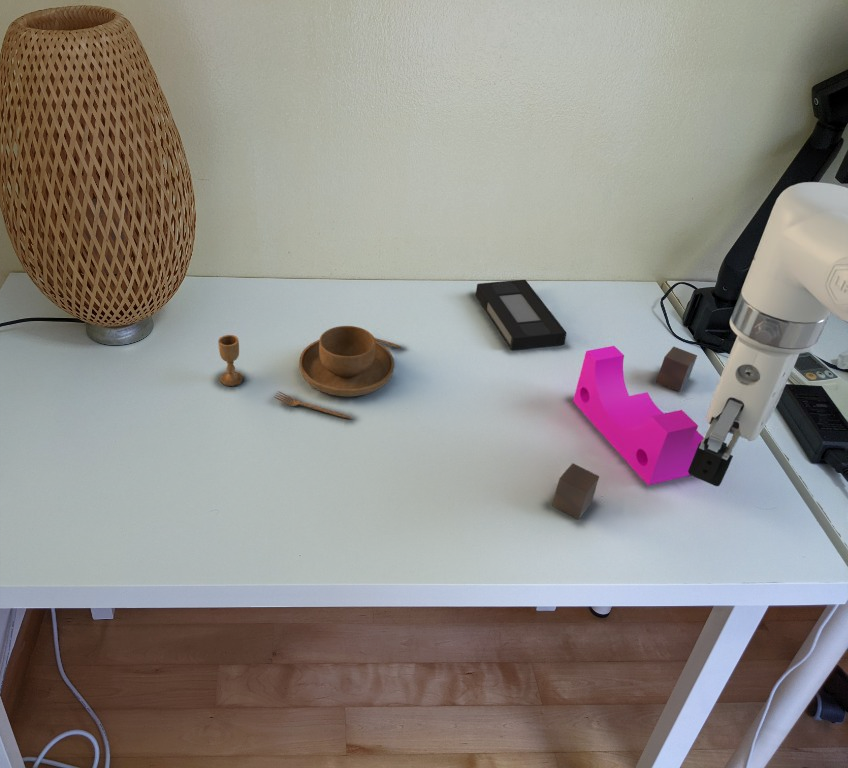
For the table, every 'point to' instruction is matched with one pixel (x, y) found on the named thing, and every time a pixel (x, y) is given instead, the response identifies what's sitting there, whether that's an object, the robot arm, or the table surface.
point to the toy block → (635, 420)
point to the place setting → (330, 364)
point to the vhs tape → (520, 315)
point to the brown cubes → (582, 483)
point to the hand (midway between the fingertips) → (719, 454)
